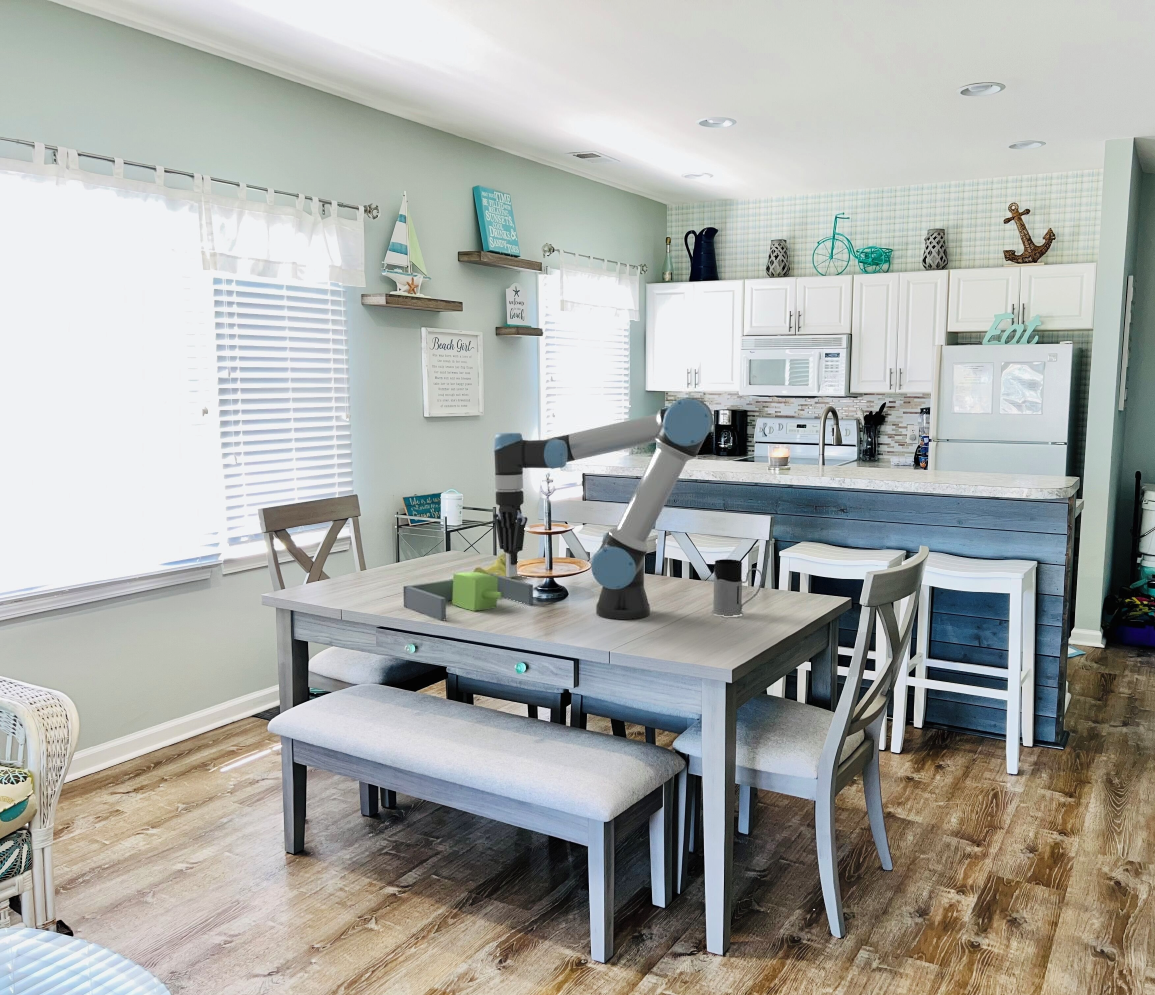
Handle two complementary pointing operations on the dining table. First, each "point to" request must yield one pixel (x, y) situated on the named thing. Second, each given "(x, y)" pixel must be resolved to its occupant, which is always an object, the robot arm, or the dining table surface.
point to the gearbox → (475, 591)
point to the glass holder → (729, 587)
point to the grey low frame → (436, 594)
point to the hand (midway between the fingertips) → (511, 576)
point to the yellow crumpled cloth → (495, 567)
